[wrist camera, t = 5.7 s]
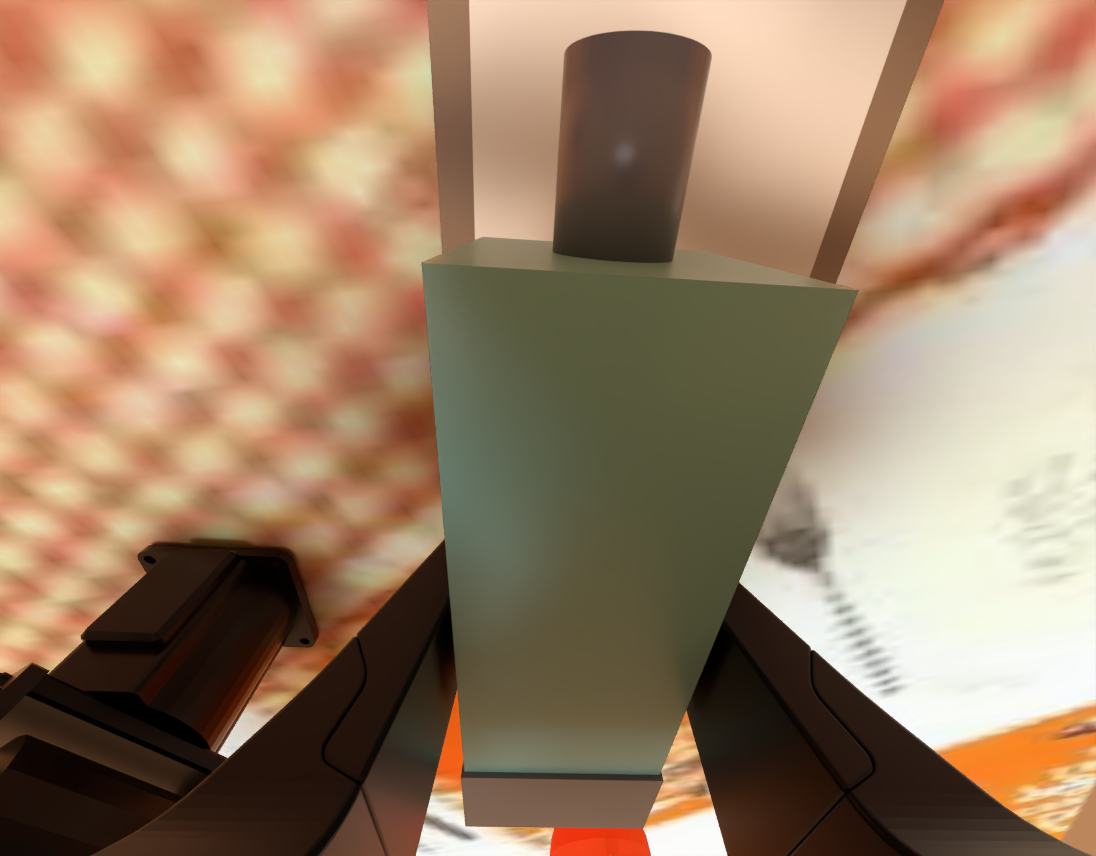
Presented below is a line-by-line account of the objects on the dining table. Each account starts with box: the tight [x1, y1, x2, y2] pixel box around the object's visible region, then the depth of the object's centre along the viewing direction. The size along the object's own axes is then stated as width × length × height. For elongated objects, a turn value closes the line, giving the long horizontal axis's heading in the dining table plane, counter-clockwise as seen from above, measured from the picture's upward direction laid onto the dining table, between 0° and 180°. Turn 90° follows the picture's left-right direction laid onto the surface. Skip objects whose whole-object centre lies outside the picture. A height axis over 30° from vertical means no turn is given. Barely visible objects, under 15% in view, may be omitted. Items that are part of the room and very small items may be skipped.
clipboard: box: [427, 0, 944, 284], centre depth 11 cm, size 18×12×1 cm, turn 177°
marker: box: [422, 30, 858, 829], centre depth 8 cm, size 14×4×4 cm, turn 177°
